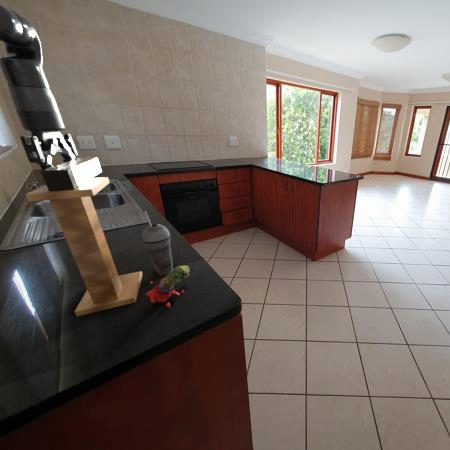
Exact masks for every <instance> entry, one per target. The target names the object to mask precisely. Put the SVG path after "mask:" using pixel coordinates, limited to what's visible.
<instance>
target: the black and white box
mask: <svg viewBox="0 0 450 450" xmlns="http://www.w3.org/2000/svg"><path fill="white" fill-rule="evenodd" d="M40 173H41V176H42V179H43V180H44V183H45V185H47V188H48V190H49V191H59V190H72V189H76V188H77V187H79V186H80V185H82V184H84V183H85V182H87V181H88V180H90V179H92V178H96V176H99V175H100V174H102V173H103V170H102V167H101V163H100V161H99V158H98V157H97V156H94V157H93V156H91V157H88V156H87V157H76V158H75V159H74V160H71V161H68V162H65V163H64V162H62V163H60V164H57V165H53V167H51V168H48V169H45V170H40Z"/></svg>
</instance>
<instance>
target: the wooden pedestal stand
mask: <svg viewBox="0 0 450 450" xmlns="http://www.w3.org/2000/svg"><path fill="white" fill-rule="evenodd" d="M109 179H110V178H109V177H108V176H101V177H100V176H98V177H93V178H92V179H90V180H88V181H87V182H85V183H84V184H82V185H80V186H79V187H77V188H76V189H72V190H59V191H49V190H48V188H47V185H46V184H45V185H42V186H40V187H38V188H36V189H34V190H32V191H30V192H28V193H25V197H26V199H27V200H28V202H29V203H30V202H42V201H45V200H49V201H50V203H51V205H52V208H53V210H54V212H55V215H56V217H57V219H58V222H59V224H60V226H61V229H62V231H63V233H64V236H63V237H64V238H65V240H66V243H67V245H68V247H69V249H70V252H71V254H72V258H73V259H74V261H75V263H76V266H77V269H78V270H79V273H80V275H81V277H82V278H81V279H82V280H83V283H84V285H85V287H86V290H85V293H84V295H83V296H82V297H81V299H80V301H79V303H78V305H77V306H76V307H75V310H74V314H75V316H76V317H80V316H84V315H88V314H92V313H98V312H102V311H105V310H110V309H114V308H117V307H122V306H126V305H130V304H135V303H136V302H137V299H138V296H139V292H140V288H141V283H142V280H143V277H144V276H143V271H142V270H140V271H134V272H130V273H125V274H120V275H119V272H118V270H117V268H116V264H115V262H114V259H113V256H112V253H111V250H110V247H109V245H108V242H107V238H106V237H105V233H104V231H103V228H102V225H101V223H100V220H99V217H98V214H97V212H96V208H95V205H94V203H93V199H92V197H95V196H96V195H97V194H98V193H99V192H101V191H102V190H103V189H104V188H105V187H106V186H108V185H109V184H110V180H109Z"/></svg>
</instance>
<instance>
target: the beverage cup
mask: <svg viewBox="0 0 450 450" xmlns="http://www.w3.org/2000/svg"><path fill="white" fill-rule="evenodd" d="M143 212H144V215H145V217H146V220H147V222H148V224H149V225H148V226H146V227H145V228H144V229H143V231H142V235H141V241H142V243H143V244H144V246H145V248H146V251H147V252H148V255H149V257H150V260H151V262H152V265H153V267H154V269H155V272H156V274H157V275H158V276H159V275H160V276H163V275H168V274H169V273H170V272H172V271H173V270H174V263H173V254H172V247H171V233H170V231H169V229H168V228H167V227H166V226H165V225H162V224H159V223H152V222H151V220H150V218H149V215H148V212H147V211H146V210H144V211H143Z"/></svg>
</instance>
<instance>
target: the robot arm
mask: <svg viewBox="0 0 450 450" xmlns="http://www.w3.org/2000/svg"><path fill="white" fill-rule="evenodd" d="M0 42H1V43H3V45H4V46H3V47H4V52H5V55H3V56H0V72H1V74H2V77H3V79H4V82H5V84H6V87H7V89H8V94H9V98H10V100H11V103H12V105H13V107H14V110H15V112H16V115H17V117H18V119H19V122H20V124H21V127H22V129H23V130H25V131H30V135H21V136H20V141H21V144H22V146H23V149H24V151H25V155H26V157H27V160H28V162H29V163H30V164H37V165H39V167H40V171H42V170H45V169H48V168H51V167H54V164H53V163H52V161H53V157H54V156H56V154H57V155H59V157H61V158H62V161H63V162H62V163H65V162H68V161H71V160H74V159H76V157H78V156H79V153H78V150H77V148H76V145H75V143H74V139H73V138H72V135H71V134H70V133H62V132H61V131H65V130H66V126H65V124H64V120H63V117H62V115H61V112H60V109H59V106H58V103H57V101H56V98H55V96H54V94H53V92H52V90H51V87H50V84H49V82H48V78H47V76H46V73H45V71H44V59H43V50H42V49H43V48H42V42H41V39H40V37H39V34H38V32H37V30H36V28H35V27H34V25H33V24H32V23H31V21H30V20H29V19H27V17H26V16H24V15H23V14H21V13H19V12H18V11H16V10H14V9H12V8H10V7H8V6H7V5H4V4H2V3H0ZM34 155H35V156H34Z"/></svg>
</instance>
